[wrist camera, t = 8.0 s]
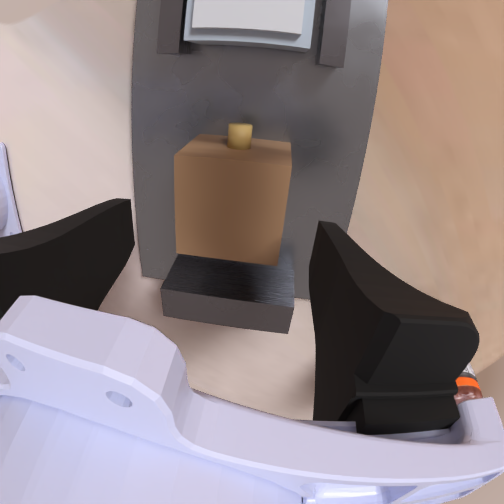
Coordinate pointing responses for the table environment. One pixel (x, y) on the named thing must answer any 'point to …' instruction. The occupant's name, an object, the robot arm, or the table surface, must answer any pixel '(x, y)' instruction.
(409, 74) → the table surface
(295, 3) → the ram
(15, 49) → the table surface
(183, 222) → the block
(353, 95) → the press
